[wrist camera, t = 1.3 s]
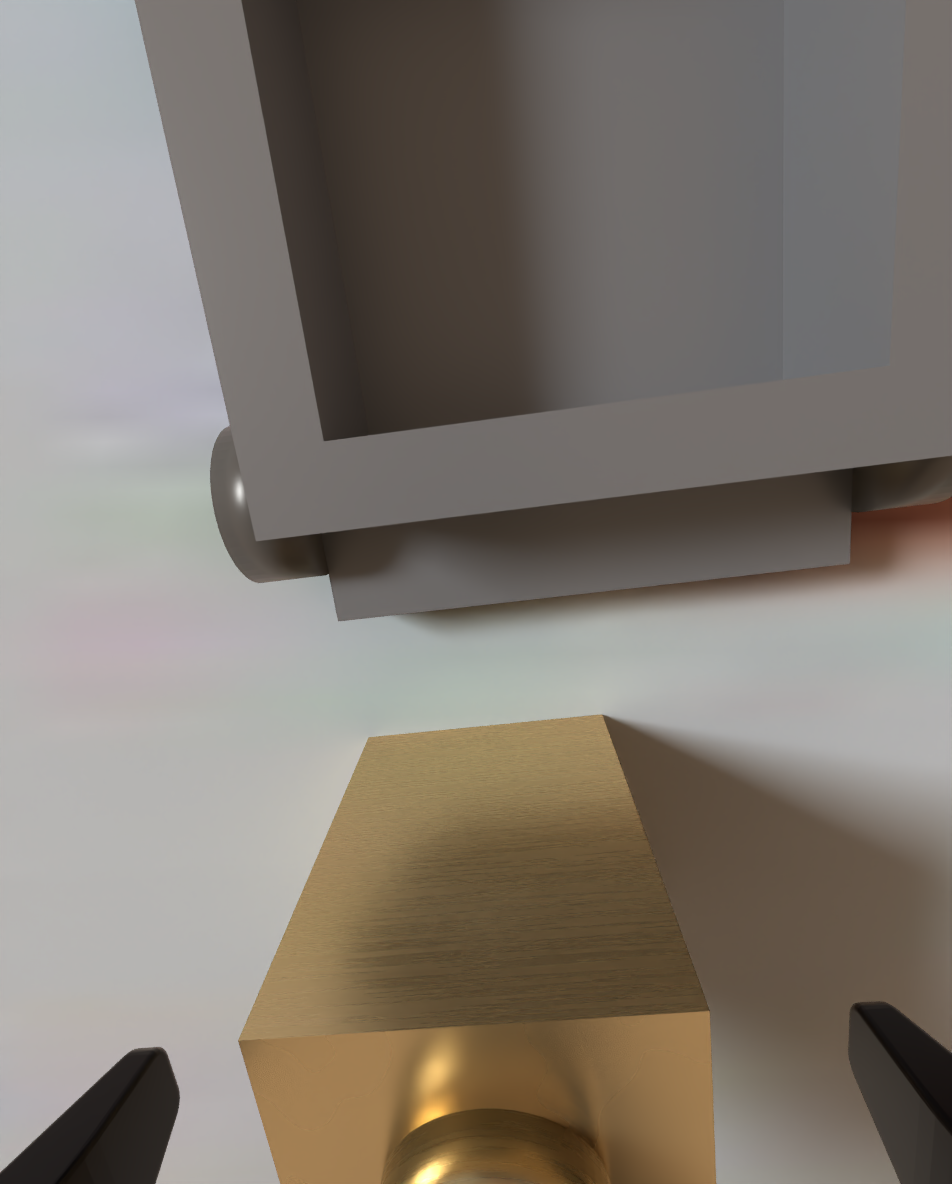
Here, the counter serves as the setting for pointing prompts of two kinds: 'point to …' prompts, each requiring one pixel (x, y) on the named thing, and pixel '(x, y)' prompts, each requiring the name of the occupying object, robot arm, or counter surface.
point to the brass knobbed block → (485, 978)
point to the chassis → (563, 284)
